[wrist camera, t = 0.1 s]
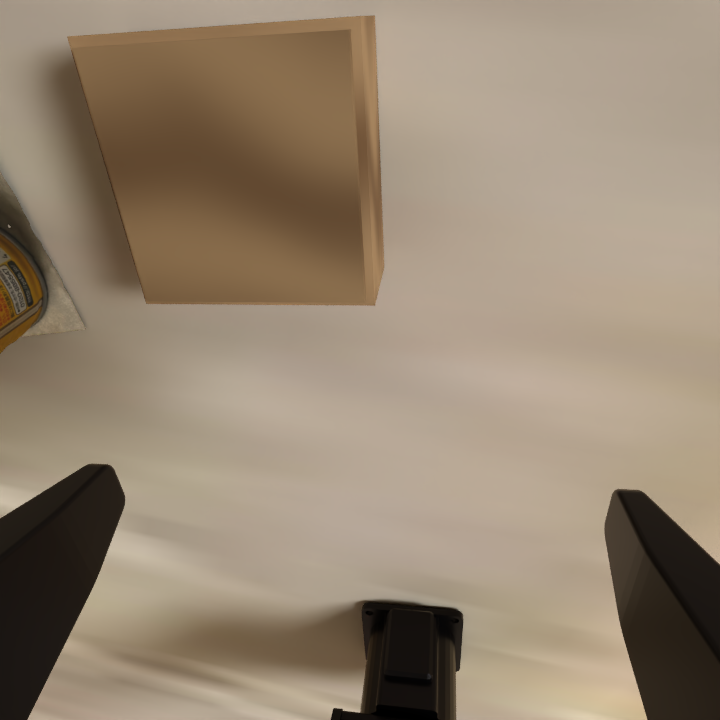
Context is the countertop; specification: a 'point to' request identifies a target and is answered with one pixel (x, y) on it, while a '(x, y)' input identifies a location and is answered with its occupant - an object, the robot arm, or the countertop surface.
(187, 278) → the base block
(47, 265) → the condiment
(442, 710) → the robot arm
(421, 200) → the countertop surface
